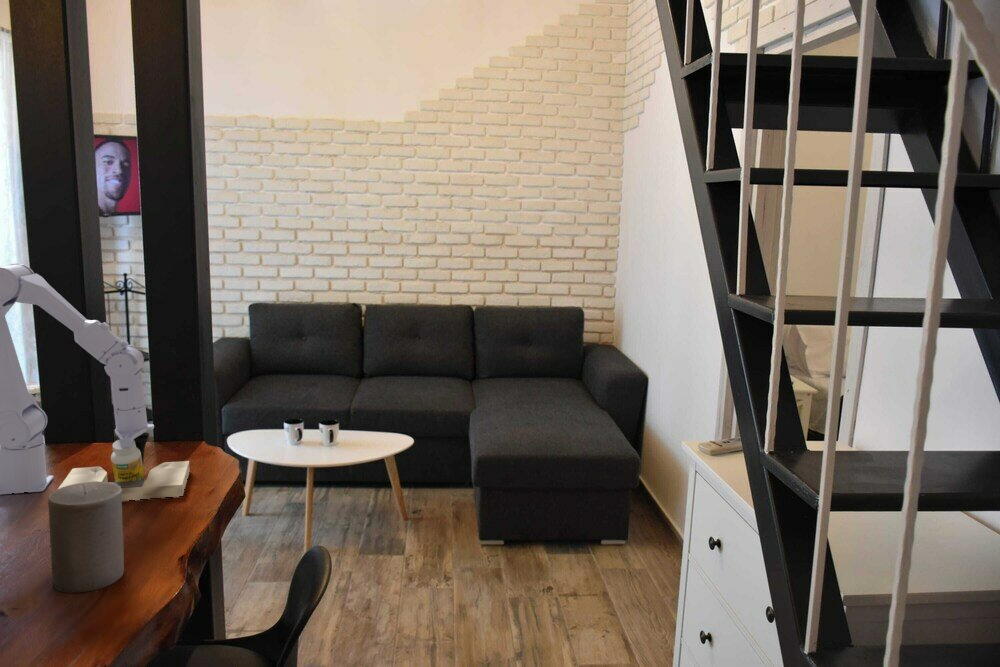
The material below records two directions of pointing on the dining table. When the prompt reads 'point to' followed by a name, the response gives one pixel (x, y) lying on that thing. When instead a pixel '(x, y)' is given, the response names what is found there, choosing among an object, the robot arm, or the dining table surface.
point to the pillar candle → (86, 536)
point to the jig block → (140, 481)
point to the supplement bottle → (127, 463)
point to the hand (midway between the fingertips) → (136, 470)
